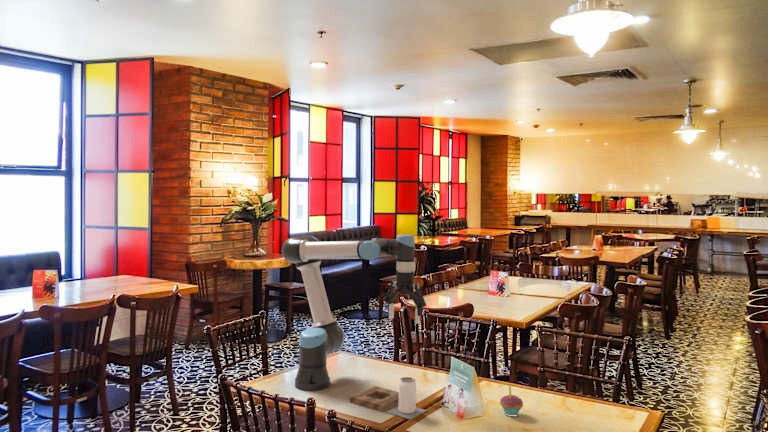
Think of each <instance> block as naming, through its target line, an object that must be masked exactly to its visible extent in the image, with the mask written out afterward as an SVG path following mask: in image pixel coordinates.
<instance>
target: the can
mask: <svg viewBox="0 0 768 432" xmlns="http://www.w3.org/2000/svg"><path fill="white" fill-rule="evenodd" d="M398 392H399V404H398V406H399V411H400V412H401V413H404V414H411V413H414V412H415V408H416V407H417V406H416V400H417V393H416V392H417V384H416V379H415V378H414V377H409V376H407V377H406V376H405V377H401V378H400V379H399V383H398Z"/></svg>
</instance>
